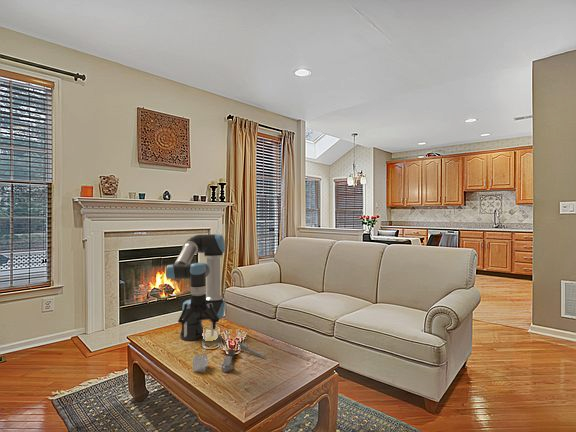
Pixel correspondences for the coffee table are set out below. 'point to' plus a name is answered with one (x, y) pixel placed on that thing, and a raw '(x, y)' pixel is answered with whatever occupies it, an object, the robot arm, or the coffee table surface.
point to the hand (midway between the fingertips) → (199, 335)
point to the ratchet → (228, 362)
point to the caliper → (250, 350)
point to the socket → (200, 363)
